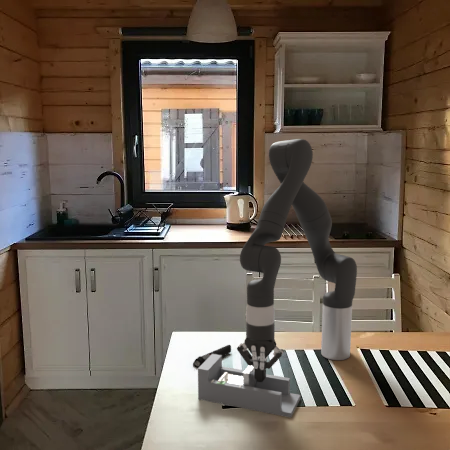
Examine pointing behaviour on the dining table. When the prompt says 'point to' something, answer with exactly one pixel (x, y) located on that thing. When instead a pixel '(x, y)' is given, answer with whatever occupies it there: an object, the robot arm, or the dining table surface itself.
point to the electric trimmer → (202, 359)
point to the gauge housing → (245, 390)
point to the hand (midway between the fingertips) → (260, 380)
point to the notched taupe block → (244, 378)
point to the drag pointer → (225, 377)
